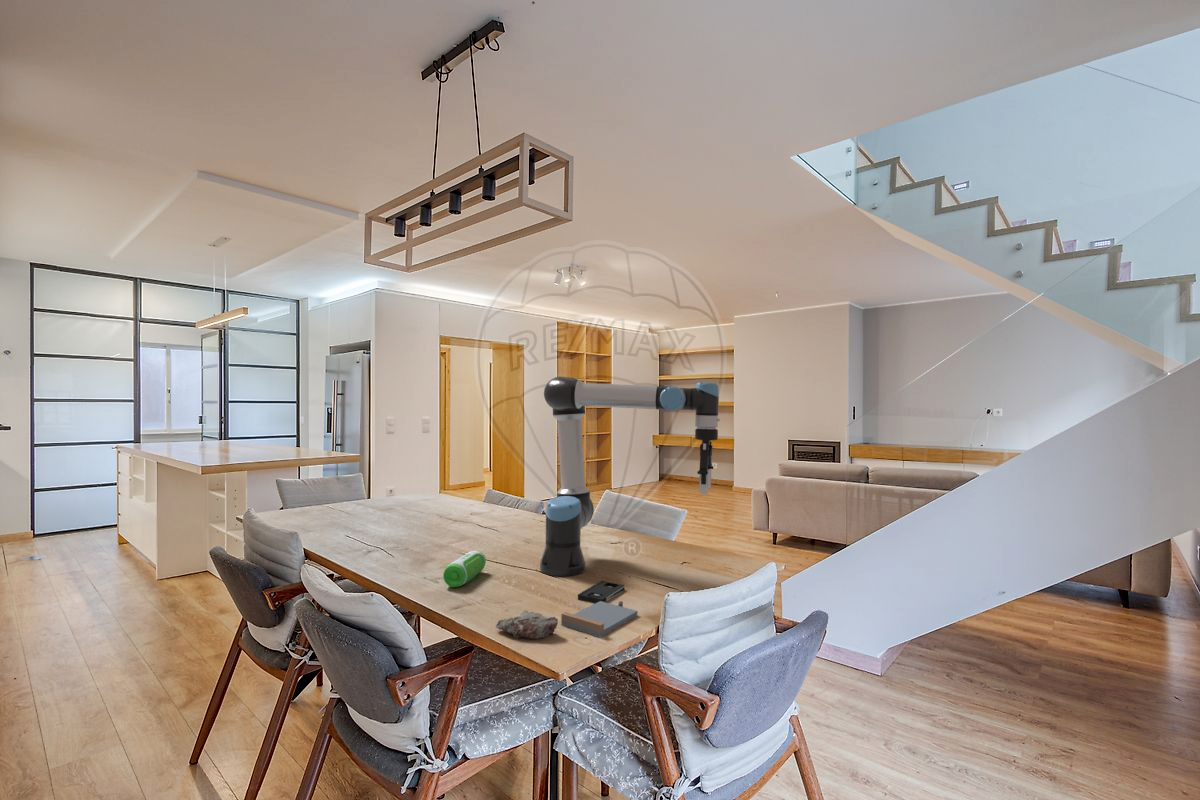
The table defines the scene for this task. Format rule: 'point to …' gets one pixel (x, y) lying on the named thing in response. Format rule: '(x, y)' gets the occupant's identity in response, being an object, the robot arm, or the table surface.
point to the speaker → (464, 569)
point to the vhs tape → (601, 592)
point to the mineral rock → (529, 625)
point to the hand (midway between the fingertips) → (705, 491)
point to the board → (598, 618)
